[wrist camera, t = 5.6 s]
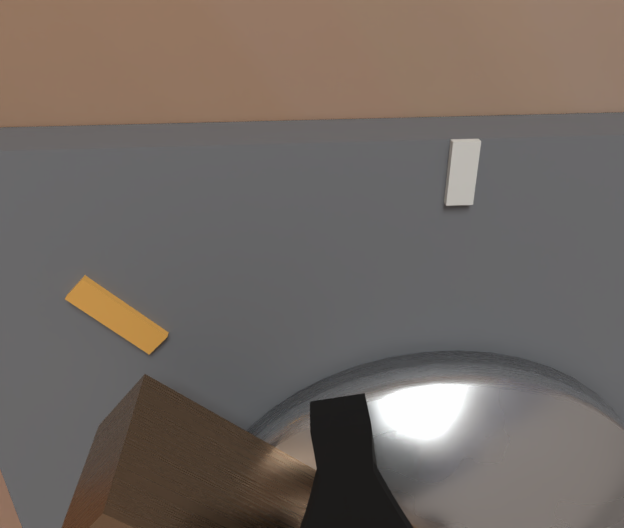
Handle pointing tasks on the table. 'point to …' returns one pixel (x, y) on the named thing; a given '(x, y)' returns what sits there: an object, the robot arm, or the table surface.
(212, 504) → the dial
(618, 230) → the dial panel
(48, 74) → the table surface
